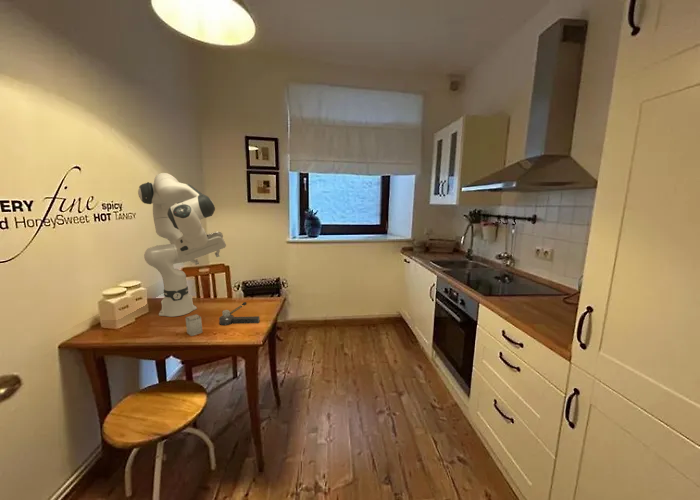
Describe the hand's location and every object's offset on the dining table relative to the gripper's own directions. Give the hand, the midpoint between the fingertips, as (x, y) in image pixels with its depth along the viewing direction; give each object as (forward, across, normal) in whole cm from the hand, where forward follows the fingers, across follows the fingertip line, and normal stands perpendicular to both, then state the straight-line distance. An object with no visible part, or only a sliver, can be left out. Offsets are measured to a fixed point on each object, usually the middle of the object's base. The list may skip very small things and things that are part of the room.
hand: (207, 259), depth 145 cm
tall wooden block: (+27, +18, +16) cm, 36 cm away
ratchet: (+35, -1, +15) cm, 38 cm away
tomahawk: (+45, -2, 0) cm, 45 cm away
